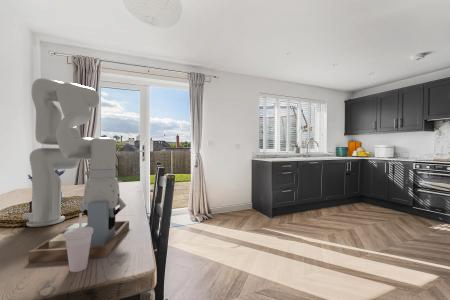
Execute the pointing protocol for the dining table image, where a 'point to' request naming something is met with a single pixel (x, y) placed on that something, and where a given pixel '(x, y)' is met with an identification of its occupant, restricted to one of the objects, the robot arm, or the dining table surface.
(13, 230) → the dining table surface
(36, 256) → the walnut tray
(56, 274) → the dining table surface
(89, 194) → the robot arm
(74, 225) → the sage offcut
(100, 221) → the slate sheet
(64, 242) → the birch offcut
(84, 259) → the smoothie
